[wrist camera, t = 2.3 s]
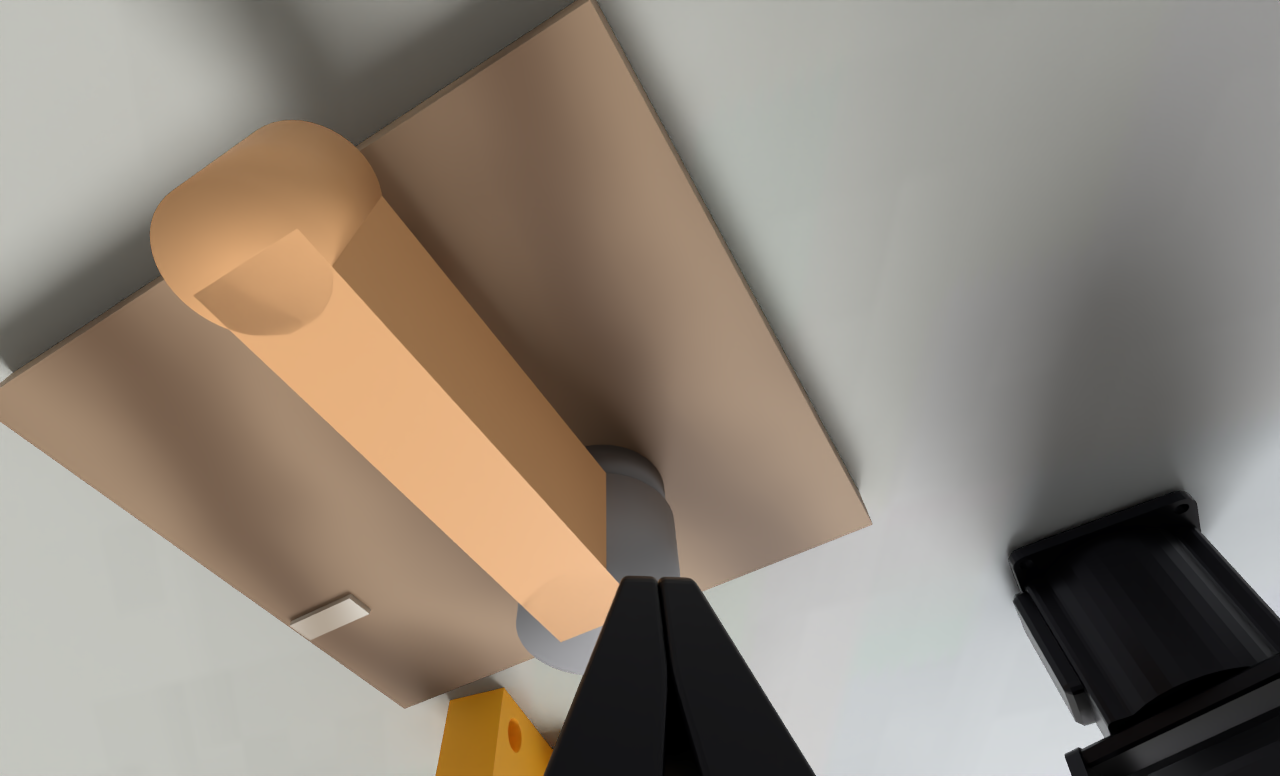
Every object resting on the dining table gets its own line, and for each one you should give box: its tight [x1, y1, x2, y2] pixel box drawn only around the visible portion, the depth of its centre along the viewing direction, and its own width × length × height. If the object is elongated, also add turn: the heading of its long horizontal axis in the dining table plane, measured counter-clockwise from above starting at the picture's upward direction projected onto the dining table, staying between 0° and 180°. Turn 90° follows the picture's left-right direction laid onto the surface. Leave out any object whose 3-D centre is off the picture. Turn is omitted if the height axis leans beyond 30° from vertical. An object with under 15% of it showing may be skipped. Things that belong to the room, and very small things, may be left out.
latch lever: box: [150, 120, 680, 675], centre depth 17 cm, size 16×4×4 cm, turn 29°
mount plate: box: [0, 0, 872, 709], centre depth 22 cm, size 20×18×3 cm
